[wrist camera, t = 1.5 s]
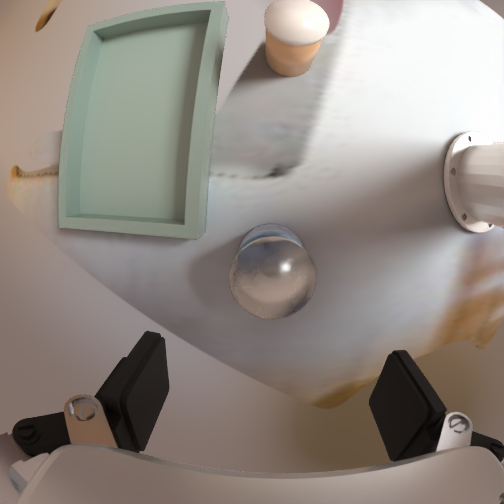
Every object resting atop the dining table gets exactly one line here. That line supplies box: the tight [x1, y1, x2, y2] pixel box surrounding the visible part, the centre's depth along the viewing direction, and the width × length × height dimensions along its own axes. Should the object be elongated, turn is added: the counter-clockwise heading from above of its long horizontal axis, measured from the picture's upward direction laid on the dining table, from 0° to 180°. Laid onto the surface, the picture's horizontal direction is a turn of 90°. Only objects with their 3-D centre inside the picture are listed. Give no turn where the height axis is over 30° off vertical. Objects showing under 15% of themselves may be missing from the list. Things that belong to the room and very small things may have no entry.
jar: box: [264, 0, 329, 77], centre depth 18 cm, size 5×5×8 cm
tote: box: [58, 1, 229, 240], centre depth 23 cm, size 16×24×4 cm
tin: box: [229, 224, 316, 319], centre depth 24 cm, size 7×7×7 cm
